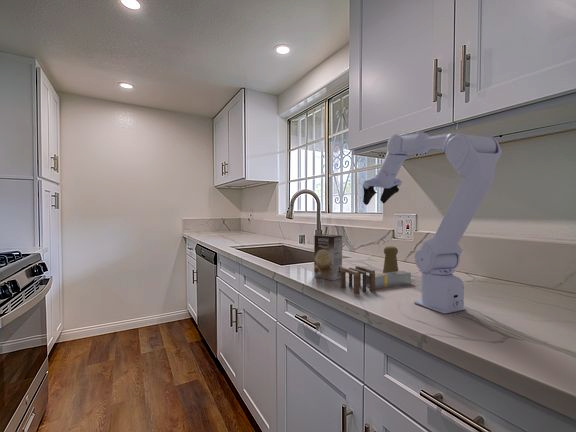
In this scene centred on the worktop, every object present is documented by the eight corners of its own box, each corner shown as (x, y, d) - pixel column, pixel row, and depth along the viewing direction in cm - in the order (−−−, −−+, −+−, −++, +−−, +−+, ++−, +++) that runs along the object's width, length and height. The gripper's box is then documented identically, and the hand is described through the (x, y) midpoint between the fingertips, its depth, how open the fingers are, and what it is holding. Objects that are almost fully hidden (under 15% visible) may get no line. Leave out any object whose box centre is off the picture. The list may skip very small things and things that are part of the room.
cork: (396, 276, 110) (396, 248, 110) (380, 274, 114) (380, 246, 114) (400, 274, 115) (400, 246, 115) (385, 272, 119) (385, 245, 118)
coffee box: (313, 277, 111) (313, 235, 110) (322, 274, 115) (322, 233, 115) (333, 280, 105) (333, 236, 104) (343, 277, 109) (342, 235, 109)
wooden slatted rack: (375, 291, 91) (375, 270, 91) (356, 293, 88) (356, 272, 88) (358, 284, 99) (358, 265, 99) (340, 287, 96) (340, 267, 96)
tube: (402, 281, 104) (402, 270, 103) (410, 283, 100) (410, 272, 100) (365, 286, 97) (365, 274, 97) (373, 289, 94) (373, 276, 94)
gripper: (399, 163, 101) (383, 194, 110) (364, 164, 95) (351, 196, 104) (411, 174, 96) (394, 206, 105) (376, 176, 91) (361, 209, 99)
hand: (373, 202), depth 104 cm, fingers open, 7 cm apart
